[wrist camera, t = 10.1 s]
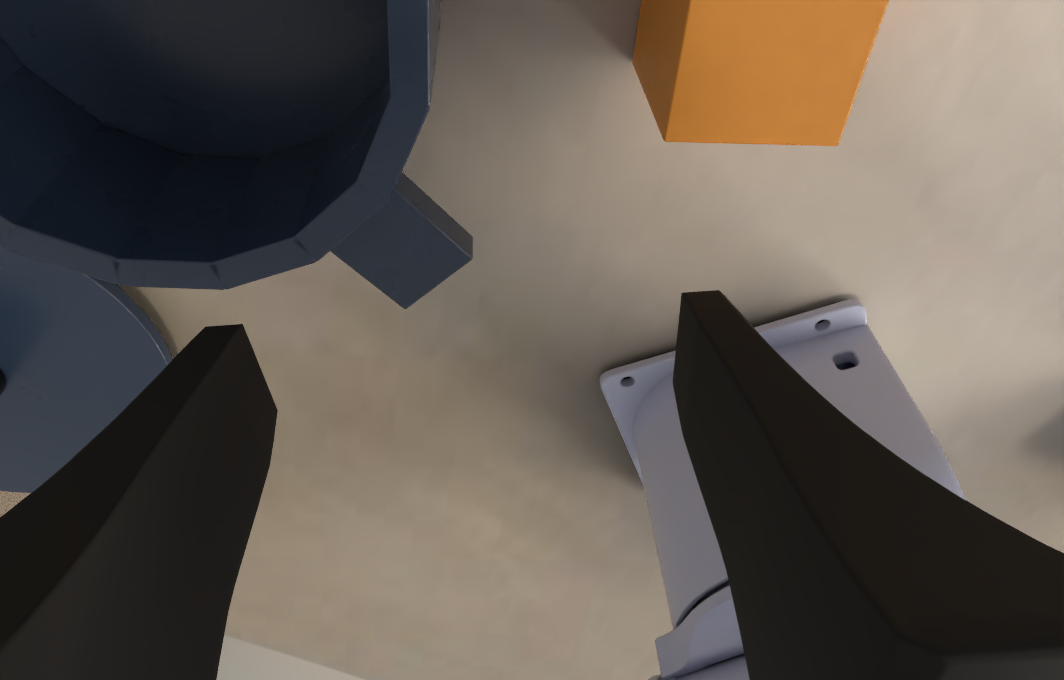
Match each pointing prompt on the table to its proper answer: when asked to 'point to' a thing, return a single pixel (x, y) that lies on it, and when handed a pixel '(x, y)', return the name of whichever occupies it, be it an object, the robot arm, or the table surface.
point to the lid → (65, 364)
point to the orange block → (754, 67)
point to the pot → (221, 140)
